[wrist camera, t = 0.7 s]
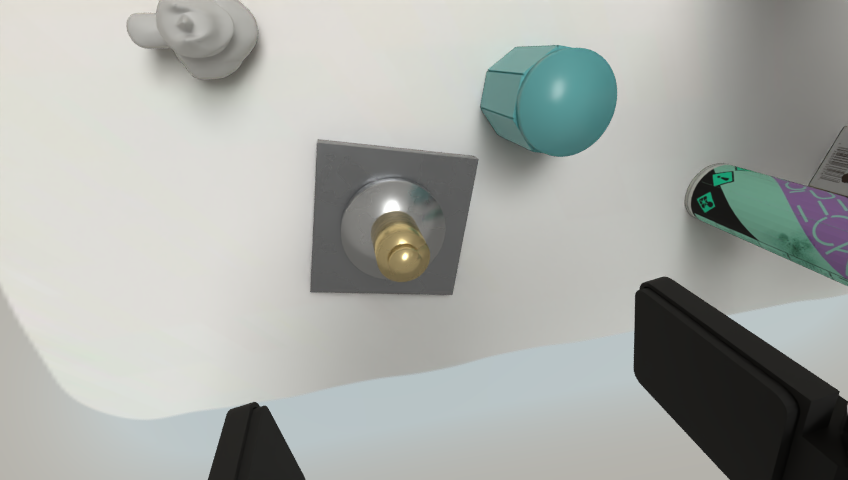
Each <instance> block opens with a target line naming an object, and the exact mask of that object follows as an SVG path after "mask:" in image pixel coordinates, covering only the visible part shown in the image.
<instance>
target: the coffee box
mask: <svg viewBox="0 0 848 480" xmlns="http://www.w3.org/2000/svg"><path fill="white" fill-rule="evenodd" d="M809 187H812V188H815V189H819V190H823V191H826V192H830V193H833V194H837V195H841V196H844V197H848V126H846V127H844V128H843V130H842V131H841V133H840V135H839V136H838V138H837V140H836V141H835V143H834V145H833V146H832V148H831V150H830V151H829V153H828V155H827V156H826V158H825V159H824V161H823V163H822V164H821V166H820V168H819V169H818V171H817V173H816V174H815V176H814V177H813V179H812V181H811V182H810V184H809Z"/></svg>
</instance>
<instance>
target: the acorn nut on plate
mask: <svg viewBox="0 0 848 480" xmlns="http://www.w3.org/2000/svg"><path fill="white" fill-rule="evenodd" d="M477 164H478V159H477V158H476V157H474V156H470V155H461V154H451V153H442V152H432V151H423V150H413V149H404V148H394V147H385V146H376V145H366V144H357V143H347V142H338V141H328V140H319V139H318V141H317V160H316V182H315V204H314V226H313V247H312V269H311V291H310V292H335V293H387V294H439V295H452V294H453V288H454V283H455V278H456V273H457V268H458V263H459V257H460V252H461V247H462V242H463V237H464V231H465V226H466V221H467V216H468V211H469V206H470V200H471V195H472V190H473V185H474V180H475V175H476V169H477Z"/></svg>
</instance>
